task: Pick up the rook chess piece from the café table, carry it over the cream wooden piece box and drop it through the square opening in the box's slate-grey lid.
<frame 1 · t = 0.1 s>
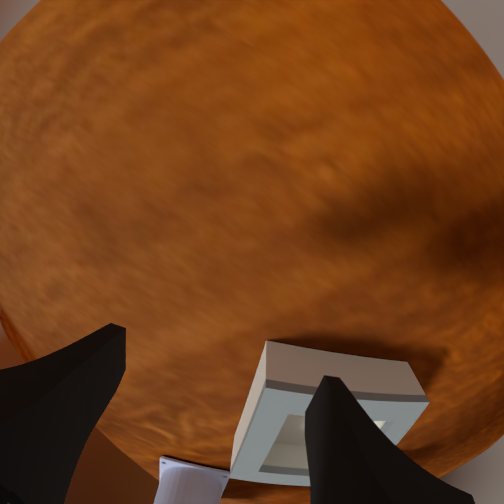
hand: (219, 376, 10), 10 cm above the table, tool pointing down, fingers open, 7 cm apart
piece box: (317, 406, 23), on the table
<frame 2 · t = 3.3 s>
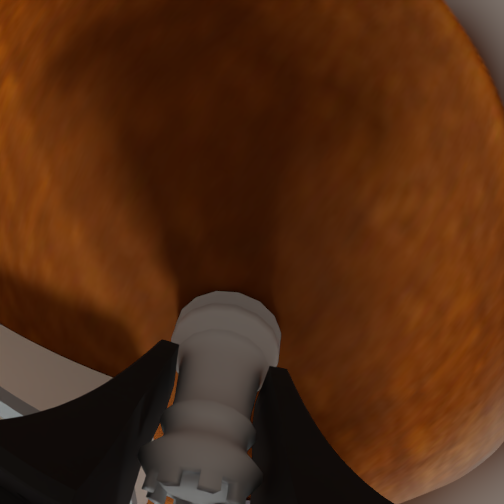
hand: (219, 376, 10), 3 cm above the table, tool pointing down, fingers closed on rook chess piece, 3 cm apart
piece box: (74, 417, 16), on the table
rook chess piece: (229, 330, 13), on the table, touching gripper
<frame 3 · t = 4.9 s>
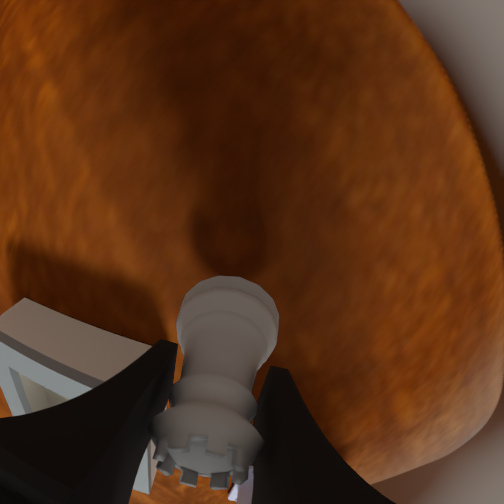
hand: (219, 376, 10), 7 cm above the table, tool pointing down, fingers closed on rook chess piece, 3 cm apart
piece box: (93, 385, 19), on the table
rook chess piece: (230, 313, 14), point 2 cm above the table, touching gripper
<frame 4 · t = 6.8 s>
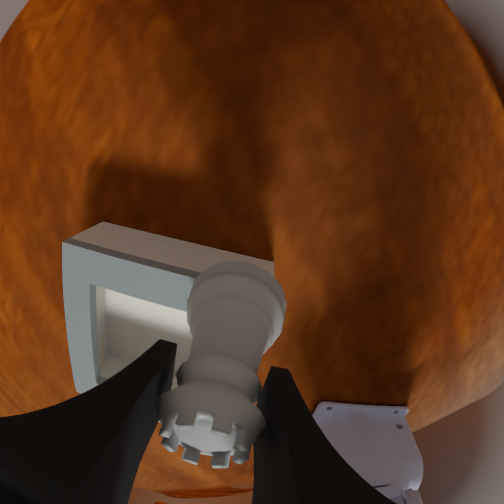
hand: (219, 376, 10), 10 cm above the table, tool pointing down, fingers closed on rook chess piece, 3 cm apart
piece box: (171, 318, 21), on the table
rook chess piece: (239, 297, 14), point 5 cm above the table, touching gripper
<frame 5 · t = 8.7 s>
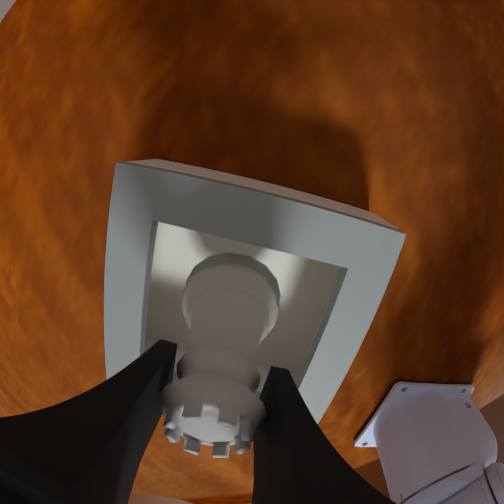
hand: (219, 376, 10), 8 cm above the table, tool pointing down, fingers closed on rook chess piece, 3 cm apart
piece box: (239, 283, 18), on the table
rook chess piece: (233, 288, 15), point 3 cm above the table, touching gripper
when the fingers open (6 cm above the table, at t = 10.2 s): rook chess piece stays where it is, resting on piece box.
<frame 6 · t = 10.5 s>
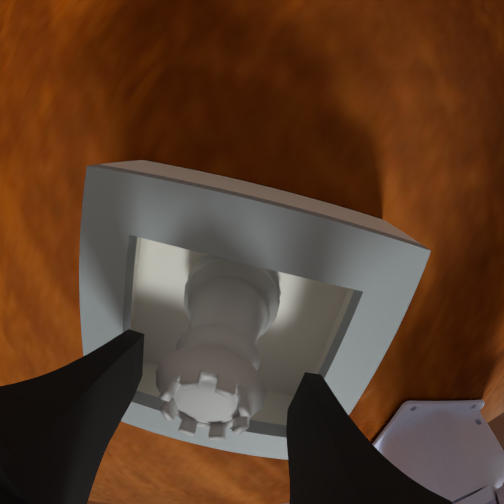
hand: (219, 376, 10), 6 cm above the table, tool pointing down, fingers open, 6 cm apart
piece box: (235, 301, 16), on the table
rook chess piece: (234, 286, 15), resting on piece box
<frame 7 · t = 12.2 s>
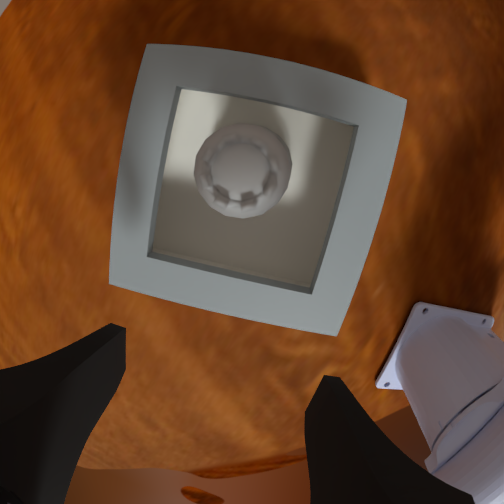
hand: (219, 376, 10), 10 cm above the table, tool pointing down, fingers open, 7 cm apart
piece box: (252, 180, 18), on the table
rook chess piece: (251, 164, 17), resting on piece box
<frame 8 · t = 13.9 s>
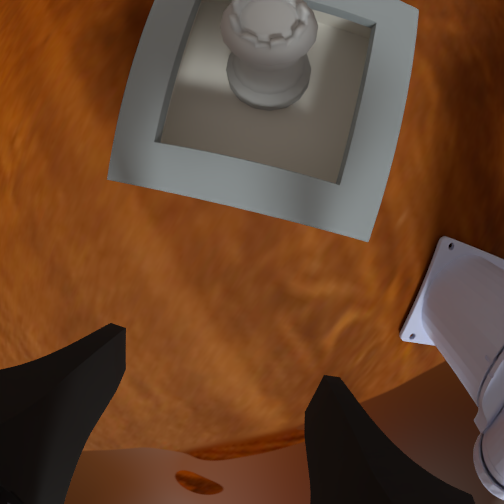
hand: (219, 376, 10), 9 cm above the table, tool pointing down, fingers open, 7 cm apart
piece box: (268, 93, 15), on the table
rook chess piece: (268, 75, 15), resting on piece box
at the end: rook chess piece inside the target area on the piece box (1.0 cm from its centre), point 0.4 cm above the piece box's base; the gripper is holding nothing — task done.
